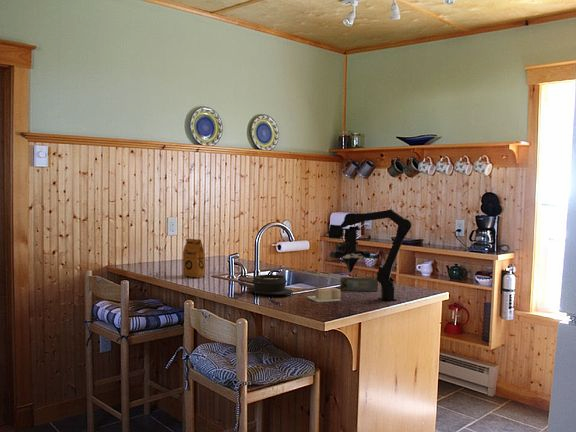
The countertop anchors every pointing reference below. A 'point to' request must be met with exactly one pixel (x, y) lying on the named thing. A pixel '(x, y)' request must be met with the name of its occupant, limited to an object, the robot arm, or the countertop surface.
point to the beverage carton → (359, 283)
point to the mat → (322, 300)
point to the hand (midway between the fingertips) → (350, 272)
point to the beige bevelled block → (328, 293)
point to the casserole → (269, 285)
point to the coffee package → (193, 258)
